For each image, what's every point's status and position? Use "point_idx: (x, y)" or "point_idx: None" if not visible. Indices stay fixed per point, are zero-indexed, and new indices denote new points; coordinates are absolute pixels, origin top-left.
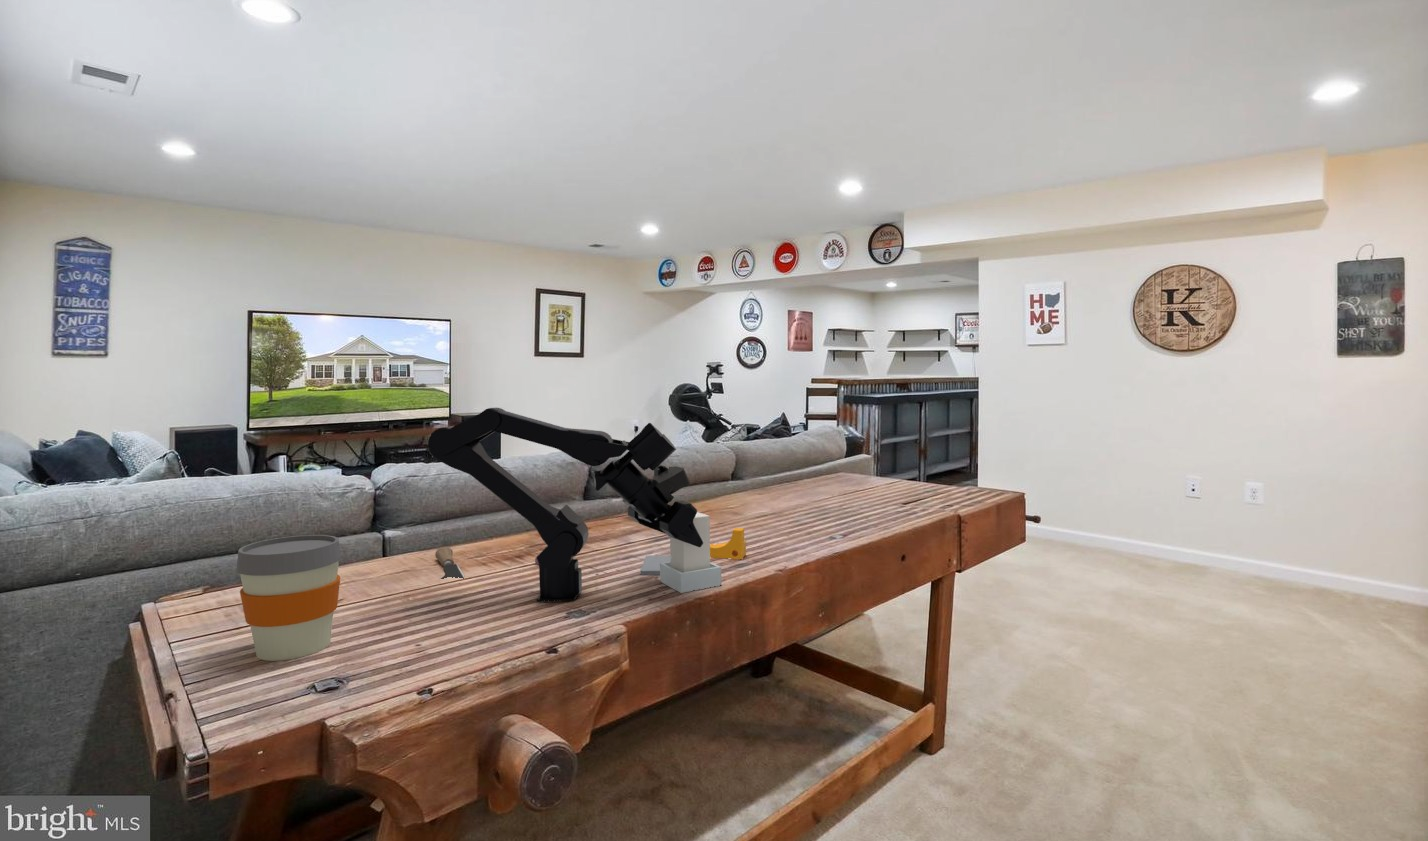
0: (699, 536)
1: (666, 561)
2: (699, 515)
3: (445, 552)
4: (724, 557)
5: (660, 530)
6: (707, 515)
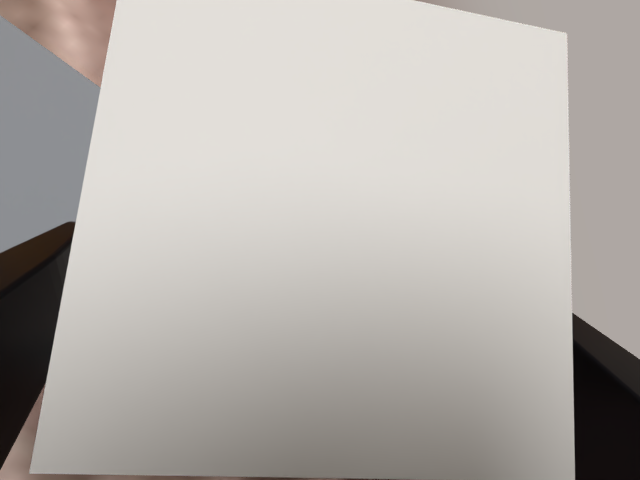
0: (576, 321)
1: None
2: (464, 112)
3: None
4: None
5: (1, 461)
6: (527, 33)
